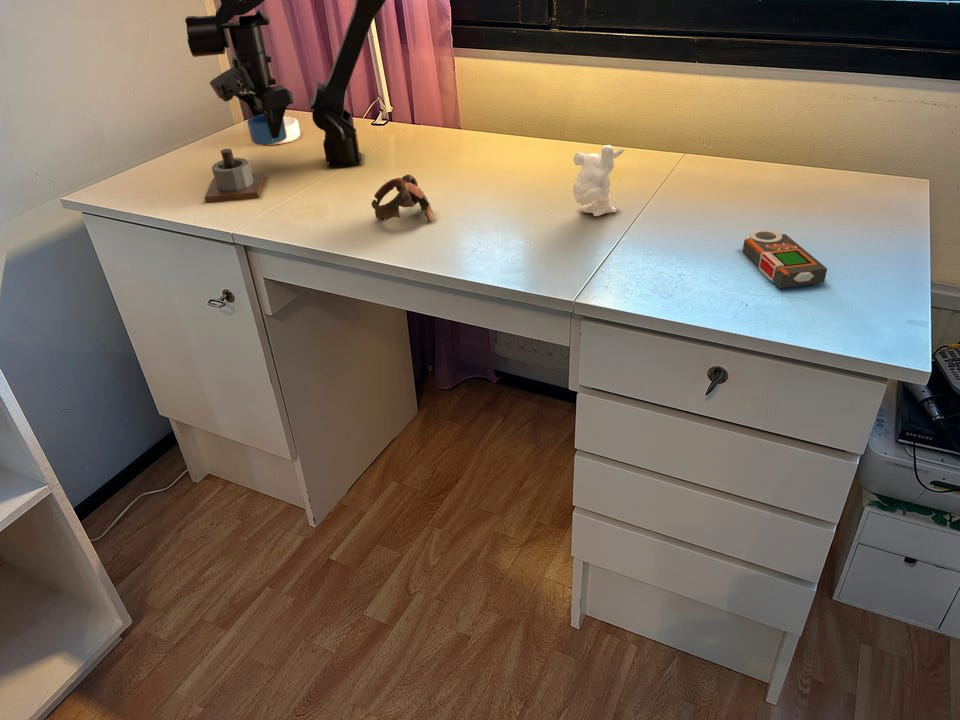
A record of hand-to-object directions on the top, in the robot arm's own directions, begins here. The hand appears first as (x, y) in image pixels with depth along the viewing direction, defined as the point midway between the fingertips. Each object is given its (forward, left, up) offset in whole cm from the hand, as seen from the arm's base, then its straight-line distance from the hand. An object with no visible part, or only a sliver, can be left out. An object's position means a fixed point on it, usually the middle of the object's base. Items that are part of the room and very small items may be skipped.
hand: (268, 133), depth 147 cm
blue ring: (0, 0, -1) cm, 1 cm away
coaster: (+2, -20, -8) cm, 22 cm away
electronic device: (-81, +58, -8) cm, 100 cm away
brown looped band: (-26, +29, -8) cm, 40 cm away
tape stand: (+7, +9, -8) cm, 14 cm away
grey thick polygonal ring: (+7, +9, -6) cm, 13 cm away
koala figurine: (-59, +34, -8) cm, 69 cm away
